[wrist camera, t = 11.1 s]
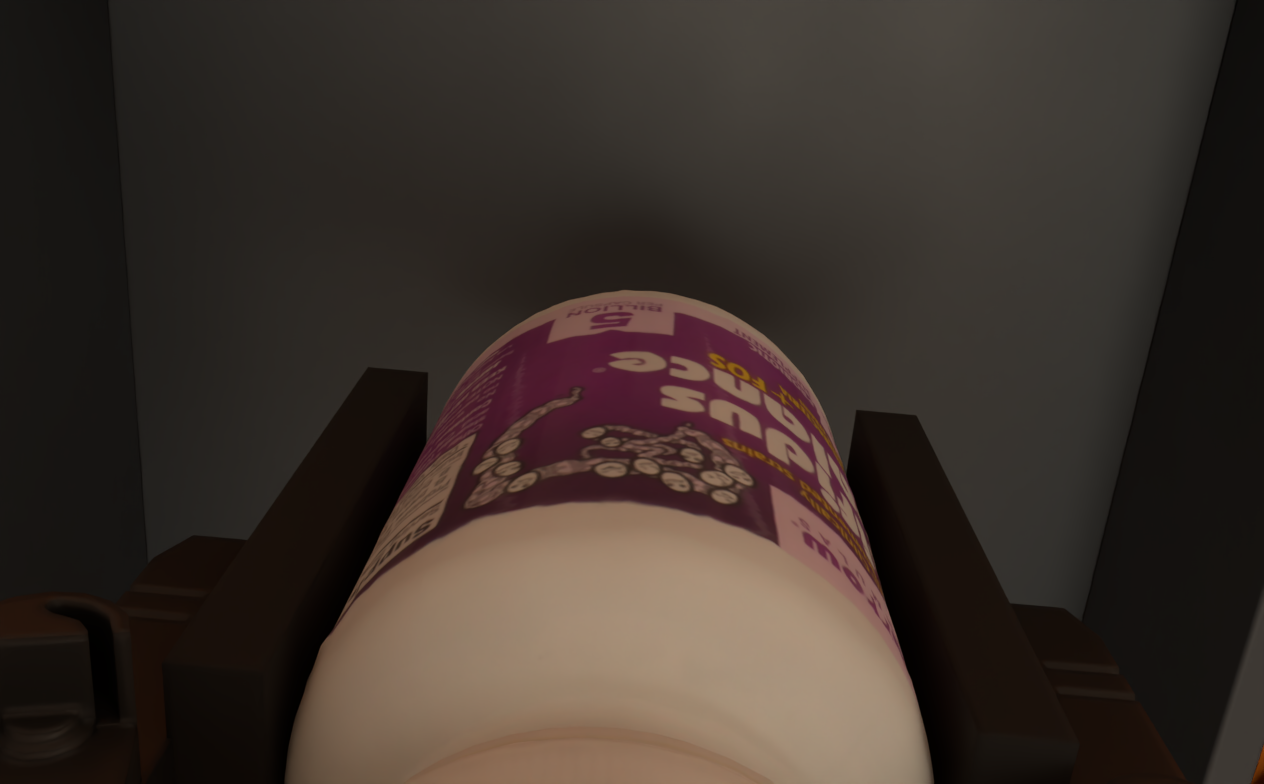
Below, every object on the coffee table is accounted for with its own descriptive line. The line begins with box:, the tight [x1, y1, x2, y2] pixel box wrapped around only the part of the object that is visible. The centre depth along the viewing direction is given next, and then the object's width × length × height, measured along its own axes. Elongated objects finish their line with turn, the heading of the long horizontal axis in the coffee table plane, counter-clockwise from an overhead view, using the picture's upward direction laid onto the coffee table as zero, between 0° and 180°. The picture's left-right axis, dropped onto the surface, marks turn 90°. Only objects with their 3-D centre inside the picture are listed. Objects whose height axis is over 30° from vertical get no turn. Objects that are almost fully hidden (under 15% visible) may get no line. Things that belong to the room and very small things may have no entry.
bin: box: [0, 0, 1264, 784], centre depth 22 cm, size 22×22×7 cm
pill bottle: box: [284, 290, 934, 784], centre depth 12 cm, size 5×5×10 cm
